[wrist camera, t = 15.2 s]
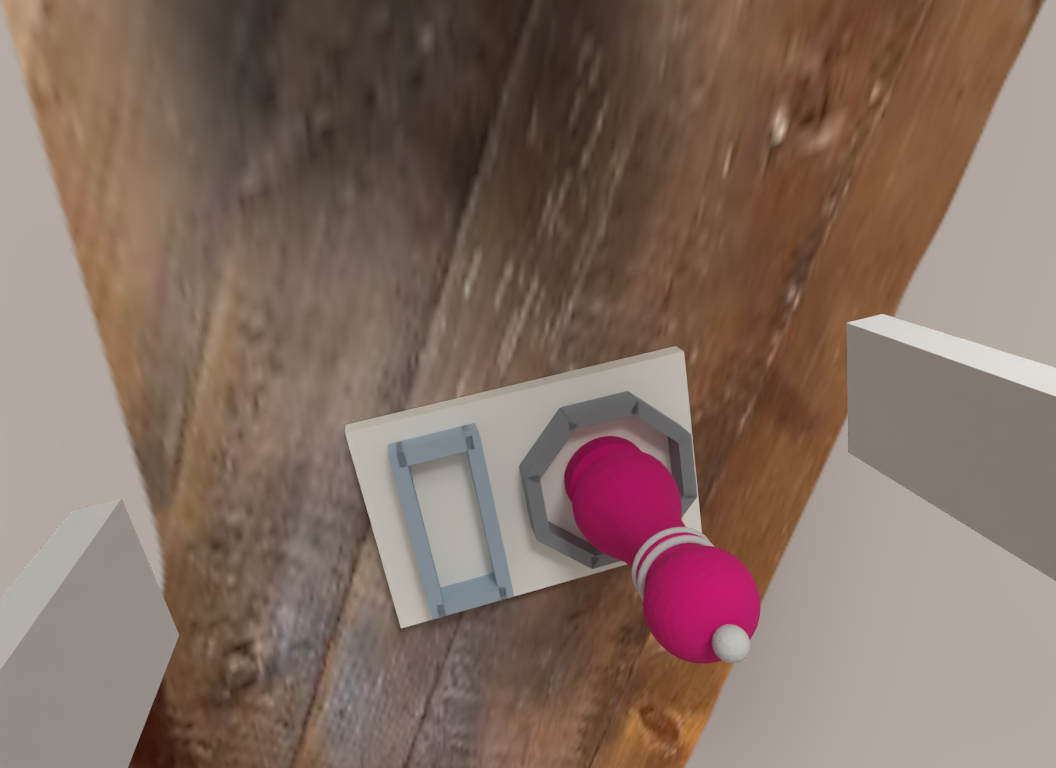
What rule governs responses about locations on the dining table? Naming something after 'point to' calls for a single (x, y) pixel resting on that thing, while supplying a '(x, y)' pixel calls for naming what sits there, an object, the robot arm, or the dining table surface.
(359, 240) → the dining table surface
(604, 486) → the pepper mill
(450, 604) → the holder board
